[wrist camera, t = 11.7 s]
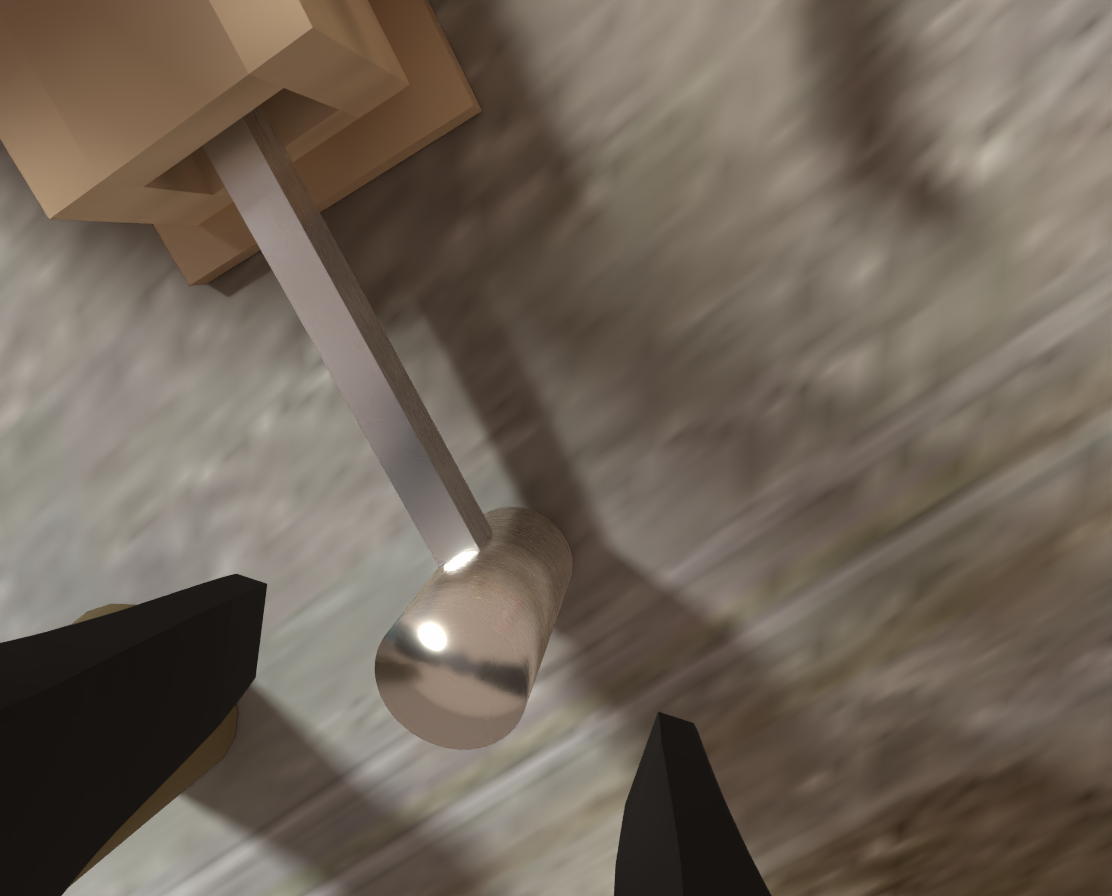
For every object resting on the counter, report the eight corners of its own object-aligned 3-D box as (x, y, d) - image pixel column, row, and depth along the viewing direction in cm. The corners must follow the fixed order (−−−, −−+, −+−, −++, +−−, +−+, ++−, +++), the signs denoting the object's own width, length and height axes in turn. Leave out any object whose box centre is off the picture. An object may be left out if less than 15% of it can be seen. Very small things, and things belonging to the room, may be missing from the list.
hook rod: (188, 76, 15) (-40, -2, 10) (286, 2, 14) (88, -118, 10) (494, 626, 18) (422, 766, 13) (592, 589, 17) (555, 723, 12)
